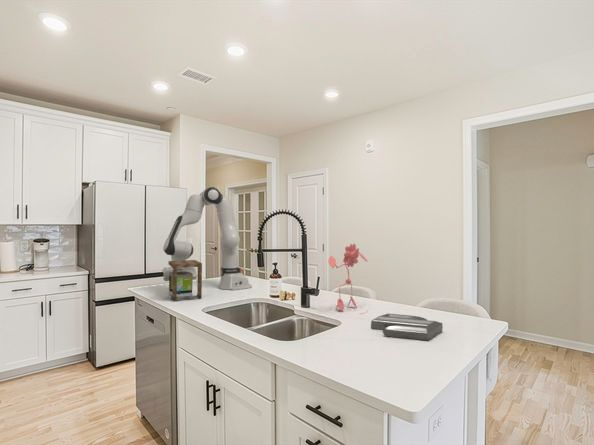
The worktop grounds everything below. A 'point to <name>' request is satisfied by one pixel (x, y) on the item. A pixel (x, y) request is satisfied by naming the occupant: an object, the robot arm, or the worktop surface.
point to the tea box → (181, 284)
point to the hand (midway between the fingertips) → (181, 285)
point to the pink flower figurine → (350, 258)
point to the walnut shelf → (176, 265)
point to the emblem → (407, 326)
